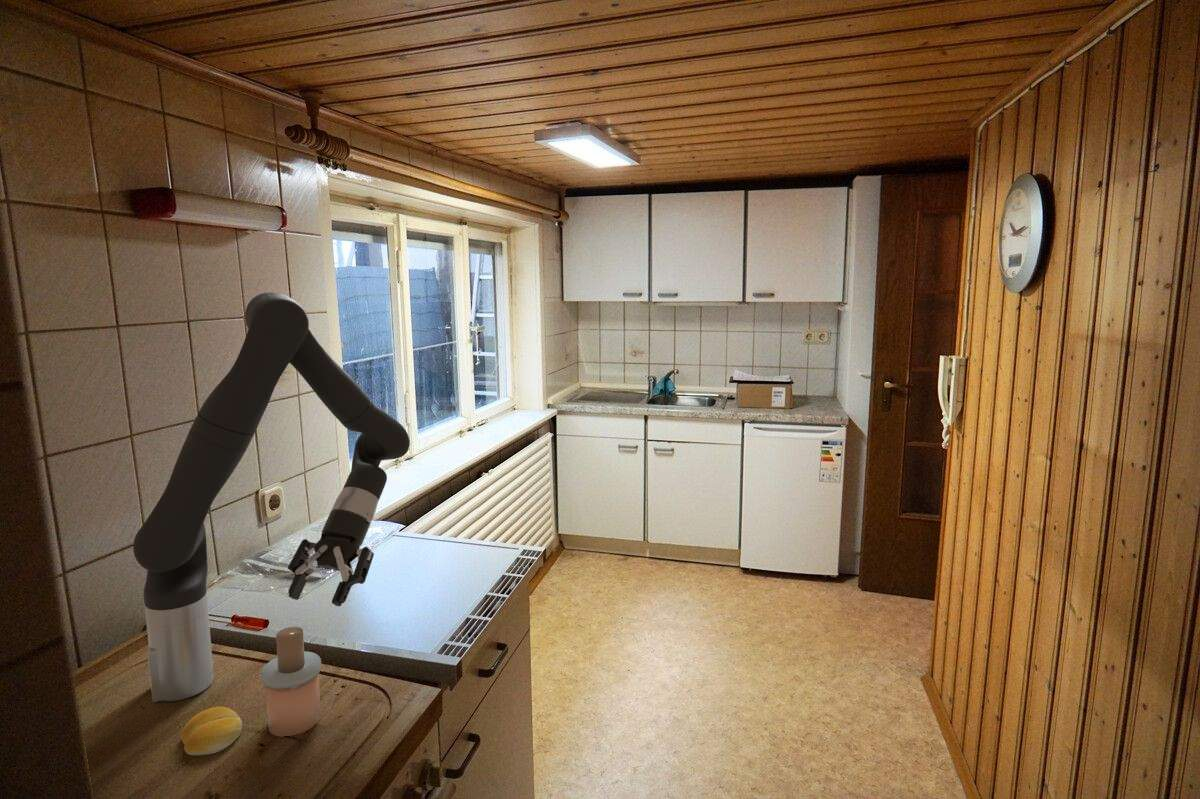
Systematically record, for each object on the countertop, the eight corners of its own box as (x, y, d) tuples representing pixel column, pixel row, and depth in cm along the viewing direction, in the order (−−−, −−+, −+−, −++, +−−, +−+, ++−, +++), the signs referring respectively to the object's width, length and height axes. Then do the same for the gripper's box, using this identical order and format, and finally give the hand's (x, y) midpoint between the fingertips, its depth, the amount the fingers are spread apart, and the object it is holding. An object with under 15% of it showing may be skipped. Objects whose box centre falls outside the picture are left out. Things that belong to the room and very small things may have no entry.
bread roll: (188, 766, 97) (186, 743, 96) (179, 734, 104) (177, 712, 103) (248, 742, 102) (247, 720, 101) (236, 714, 109) (234, 692, 108)
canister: (270, 743, 102) (267, 693, 100) (266, 714, 109) (262, 667, 107) (324, 726, 106) (321, 678, 105) (316, 700, 113) (314, 654, 111)
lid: (264, 700, 100) (261, 654, 99) (259, 671, 107) (256, 627, 106) (325, 683, 105) (323, 638, 103) (317, 656, 112) (315, 614, 111)
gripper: (308, 504, 118) (267, 588, 109) (376, 511, 115) (340, 599, 106) (327, 521, 124) (290, 603, 115) (393, 529, 121) (360, 614, 112)
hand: (314, 601), depth 110 cm, fingers open, 8 cm apart
